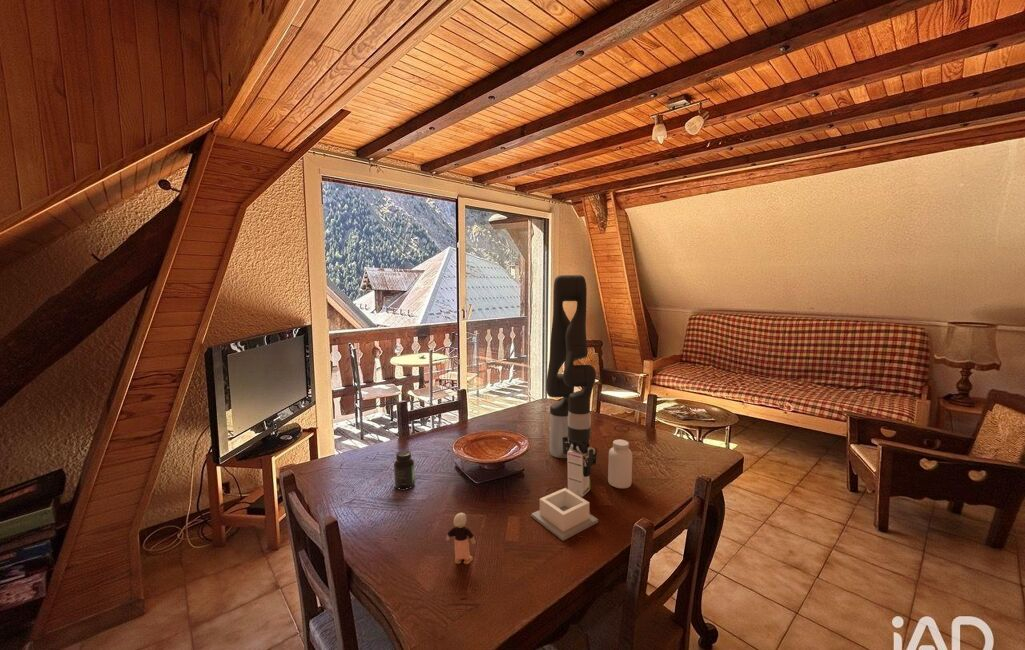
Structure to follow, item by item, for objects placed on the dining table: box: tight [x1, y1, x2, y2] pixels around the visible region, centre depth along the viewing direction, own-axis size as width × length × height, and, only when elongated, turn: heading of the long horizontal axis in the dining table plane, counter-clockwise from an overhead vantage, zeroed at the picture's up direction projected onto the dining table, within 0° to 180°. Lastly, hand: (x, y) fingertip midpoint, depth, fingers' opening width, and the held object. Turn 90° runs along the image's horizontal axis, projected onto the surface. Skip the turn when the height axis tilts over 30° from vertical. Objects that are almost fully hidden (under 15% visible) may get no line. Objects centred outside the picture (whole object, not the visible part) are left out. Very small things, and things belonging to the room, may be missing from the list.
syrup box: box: [566, 450, 591, 498], centre depth 135 cm, size 6×6×14 cm
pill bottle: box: [607, 439, 633, 489], centre depth 140 cm, size 8×8×15 cm
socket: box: [530, 487, 599, 542], centre depth 120 cm, size 14×14×6 cm
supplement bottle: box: [393, 449, 416, 489], centre depth 140 cm, size 7×7×12 cm
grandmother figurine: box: [445, 512, 477, 565], centre depth 103 cm, size 8×4×13 cm, turn 92°
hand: (578, 471), depth 135 cm, fingers closed on syrup box, 6 cm apart
